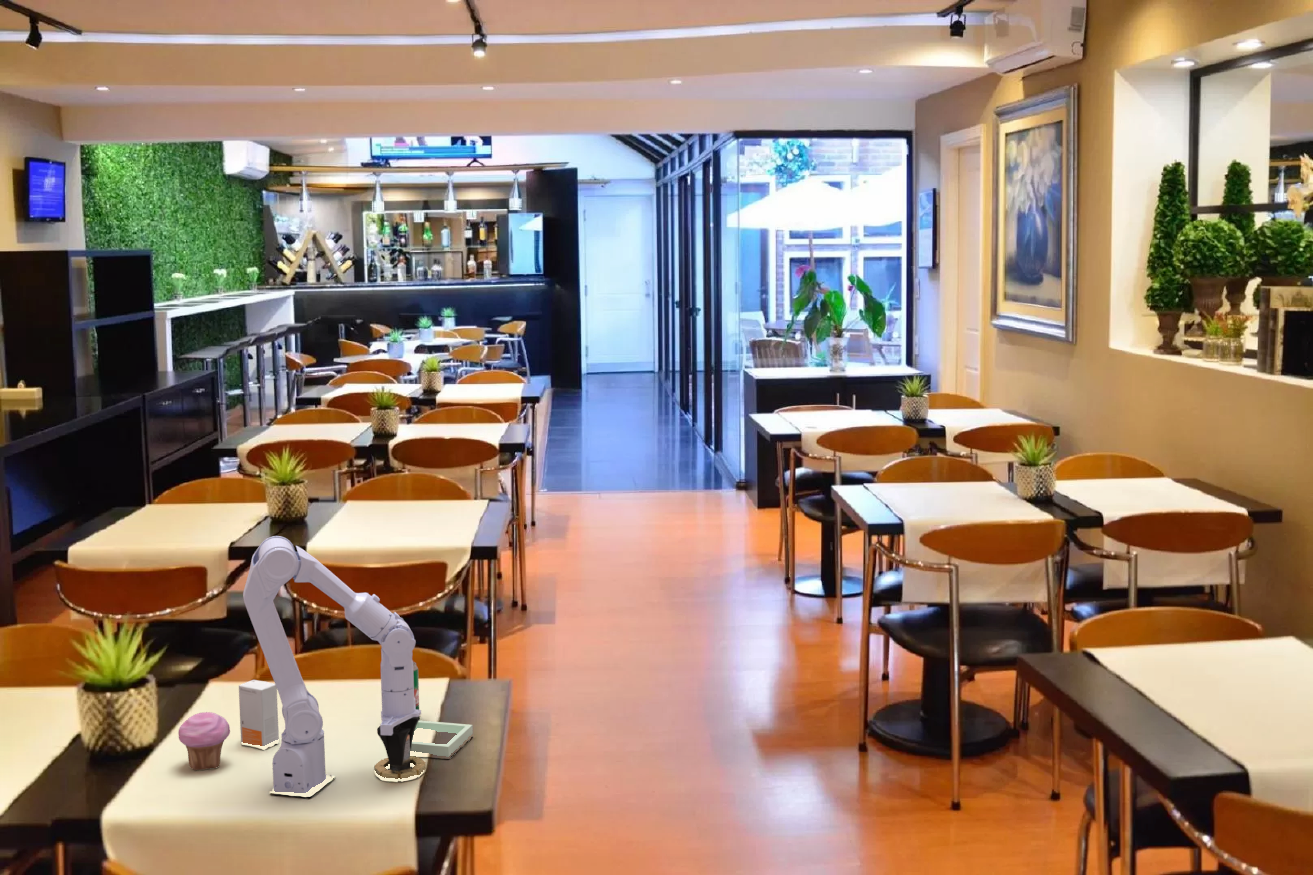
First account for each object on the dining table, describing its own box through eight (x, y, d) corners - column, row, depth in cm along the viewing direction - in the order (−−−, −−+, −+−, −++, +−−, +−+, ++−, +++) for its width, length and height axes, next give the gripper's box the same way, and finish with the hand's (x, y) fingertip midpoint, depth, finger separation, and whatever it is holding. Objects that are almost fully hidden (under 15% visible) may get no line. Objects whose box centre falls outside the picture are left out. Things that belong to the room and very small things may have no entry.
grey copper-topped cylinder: (406, 777, 238) (405, 739, 237) (387, 776, 238) (385, 738, 237) (413, 769, 241) (412, 732, 240) (394, 768, 242) (393, 731, 241)
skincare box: (240, 745, 253) (237, 684, 252) (256, 738, 257) (253, 678, 256) (264, 751, 251) (261, 689, 249) (280, 743, 254) (277, 683, 253)
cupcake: (178, 777, 238) (175, 723, 237) (182, 760, 246) (179, 708, 245) (230, 772, 240) (228, 718, 239) (232, 755, 249) (230, 703, 247)
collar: (412, 784, 234) (412, 775, 234) (367, 779, 237) (367, 771, 236) (432, 766, 243) (431, 757, 243) (388, 762, 245) (388, 753, 245)
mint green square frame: (448, 759, 246) (448, 746, 246) (388, 754, 249) (388, 741, 248) (472, 737, 257) (472, 724, 257) (415, 732, 260) (414, 719, 260)
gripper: (407, 700, 230) (409, 776, 232) (430, 675, 244) (432, 746, 246) (367, 699, 231) (370, 774, 233) (393, 673, 245) (395, 744, 247)
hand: (399, 760), depth 239 cm, fingers closed on grey copper-topped cylinder, 4 cm apart
